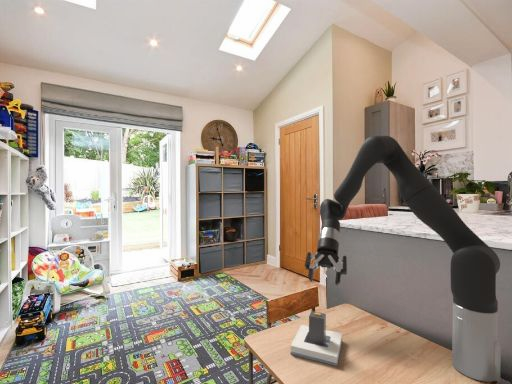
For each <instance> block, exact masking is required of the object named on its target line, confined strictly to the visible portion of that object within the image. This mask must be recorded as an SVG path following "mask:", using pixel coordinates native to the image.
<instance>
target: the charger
mask: <svg viewBox="0 0 512 384" xmlns="http://www.w3.org/2000/svg"><path fill="white" fill-rule="evenodd" d="M326 316H327V313H323V312H317V311H310V313H309V315H308V326H309V343H311V344H315V345H319V346H323V347H325V344H326V330H327V328H326V327H327V317H326Z"/></svg>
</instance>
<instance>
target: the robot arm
mask: <svg viewBox="0 0 512 384" xmlns="http://www.w3.org/2000/svg"><path fill="white" fill-rule="evenodd" d="M376 164H382V165H383V166H385V167H386V168H387V169H388V170H389V172H390V173H391V174H392V176H393V177H394V179H395V181H396V184H397V188H398V192H399V195H400V197H401V199H402V201H403V202H404V203H405V205H406V206H407V207H408V209H409V210H410V211H411V213H412V214H413V215H414V216H415V217H416V218H417V219H418V220H419V221H421V223H423V224H424V225H426V226H427V227H428V228H430V229H431V230H432V231H434V232H435V233H436V234H437V235H438V236H439V237H440V238H441V239H442V240H443V241H444V242H445V244H446V245H447V247H448V248H449V249H450V251H451V252H452V256H451V259H450V268H449V269H450V270H449V272H450V290H451V293H452V337H451V338H452V341H451V343H452V345H451V346H452V347H451V348H452V349H451V351H452V352H451V364H452V366H453V367H454V369H455V370H456V371H458V372H460V374H463V376H466V377H468V378H470V379H473V380H476V381H480V382H484V383H485V382H488V383H491V382H499V383H501V367H502V366H501V363H502V362H501V358H502V357H501V355H502V351H501V350H502V345H501V343H500V342H499V340H498V321H499V320H498V312H499V311H498V310H499V309H498V308H499V302H498V299H497V294H496V292H497V291H496V290H497V287H496V284H497V283H496V281H497V280H496V279H497V273H498V272H499V270H500V268H501V261H500V258H499V256H498V254H497V253H496V252H495V251H494V249H492V248H491V247H490V246H489V245H488V244H487V243H486V242H484V240H482V239H481V238H480V237H479V236H478V235H477V234H476V233H475V232H474V231H473V230H472V229H471V228H469V226H468V225H467V224H466V223H465V222H464V221H463V220H462V218H461V217H460V215H459V214H458V213H457V212H456V210H455V209H454V208H453V206H452V205H451V204H450V203H449V201H448V200H447V199H446V198H445V196H443V194H442V193H441V192H440V191H439V190H438V189H437V188H436V187H435V186H434V184H433V183H432V182H431V181H430V180H429V179H428V178H427V177H426V176H425V175H424V174H423V173H422V172H421V170H420V169H419V168H418V167H417V166H416V165H415V164H414V163H413V162H412V161H411V159H410V158H409V157H408V155H407V154H406V152H405V151H404V149H403V148H402V146H401V145H400V144H399V142H398V141H397V140H396V139H395V138H393V137H392V136H390V135H371V136H370V137H367V138H366V139H365V140H364V141H363V143H362V144H361V146H360V148H359V150H358V152H357V154H356V156H355V158H354V161H353V162H352V165H351V166H350V169H349V171H348V172H347V174H346V176H345V178H344V179H343V181H342V182H341V183H340V184H339V186H338V187H337V188H336V190H335V191H334V193H333V198H334V200H333V199H330V198H326V199H323V201H322V202H321V203H320V206H319V214H320V218H321V228H320V232H319V235H318V242H317V249H316V253H315V254H314V253H311V252H310V251H309V252H307V254H306V257H305V262H304V268H305V270H306V271H308V275H307V277H308V280H309V282H311V283H312V282H313V280H314V274H315V270H317V269H319V268H320V267H321V268H327V269H331V268H332V269H333V270H334V272H335V283H334V284H335V286H338V285H339V284H341V278H342V276H343V275H344V276H345V275H347V274H348V256H346V255H343V256H339V248H340V232H341V222H340V221H341V220H343V219H344V218H345V216H346V213H347V210H348V208H349V207H350V206H349V205H350V203H351V202H352V201H353V199H354V198H355V197H356V196H357V194H358V193H359V192H360V190H361V188H362V185H363V181H364V178H365V176H366V174H367V173H368V172H369V171H370V170H371V168H372V167H374V166H375V165H376ZM314 259H315V260H314ZM313 260H314V261H313ZM312 261H313V263H311V262H312ZM338 262H340V264H342V269H341V268H340V267H339V265H338Z"/></svg>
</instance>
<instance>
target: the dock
mask: <svg viewBox="0 0 512 384" xmlns="http://www.w3.org/2000/svg"><path fill="white" fill-rule="evenodd" d="M342 344H343V333H342V332H337V331H334V330H333V331H332V330H327V329H326V344H325V347H323V346H319V345H315V344H311V343H309V325H305V324H301V325H300V326H299V329H298V331H297V333H296V334H295V337H294V339H293V340H292V342H291V344H290V355H293V356H296V357H301V358H305V359H308V360H312V361H316V362H320V363H324V364H327V365H332V366H335V367H338V363H339V359H340V353H341V348H342Z"/></svg>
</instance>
